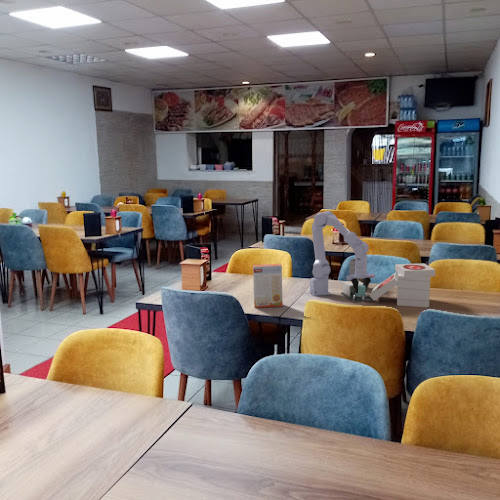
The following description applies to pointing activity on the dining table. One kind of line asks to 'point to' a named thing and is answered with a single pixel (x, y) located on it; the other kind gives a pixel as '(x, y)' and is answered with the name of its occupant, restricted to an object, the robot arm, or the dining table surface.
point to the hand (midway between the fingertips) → (360, 292)
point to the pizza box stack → (408, 285)
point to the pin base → (356, 298)
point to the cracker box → (267, 285)
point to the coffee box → (353, 269)
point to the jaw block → (361, 291)
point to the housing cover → (349, 287)
